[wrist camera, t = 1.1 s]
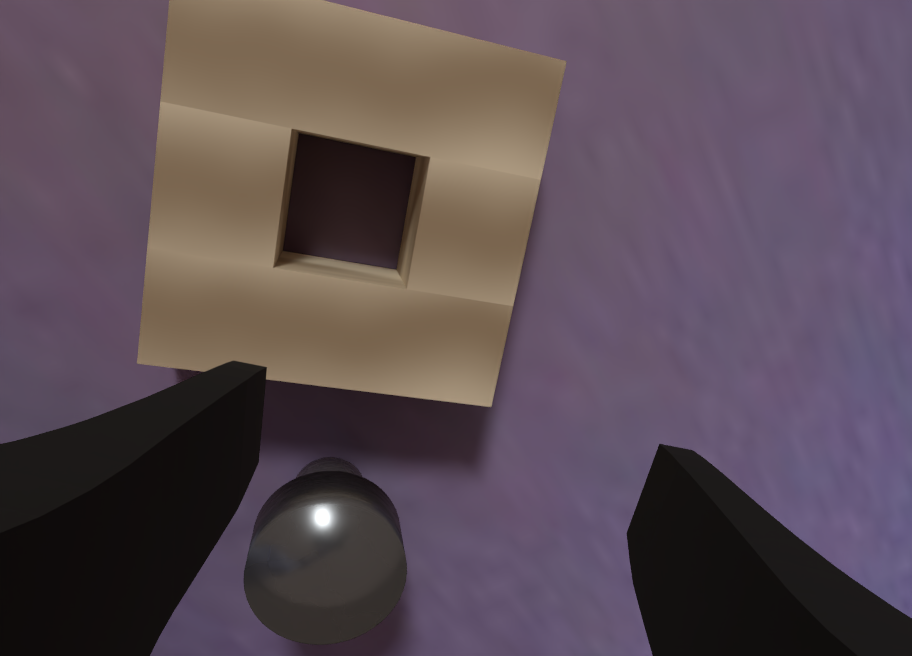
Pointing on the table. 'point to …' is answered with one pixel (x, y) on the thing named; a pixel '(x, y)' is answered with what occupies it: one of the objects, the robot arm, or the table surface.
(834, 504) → the table surface
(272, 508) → the steel pin
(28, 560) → the robot arm
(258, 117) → the wooden block
